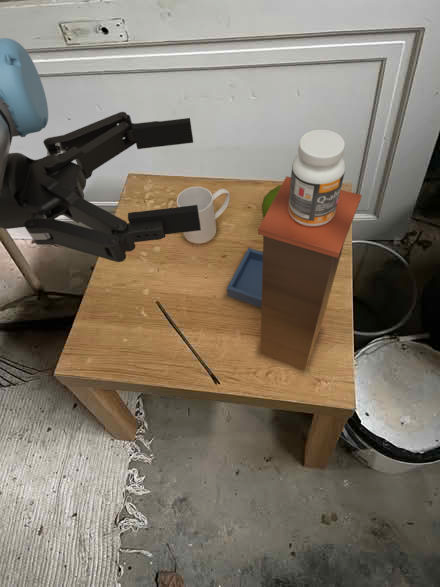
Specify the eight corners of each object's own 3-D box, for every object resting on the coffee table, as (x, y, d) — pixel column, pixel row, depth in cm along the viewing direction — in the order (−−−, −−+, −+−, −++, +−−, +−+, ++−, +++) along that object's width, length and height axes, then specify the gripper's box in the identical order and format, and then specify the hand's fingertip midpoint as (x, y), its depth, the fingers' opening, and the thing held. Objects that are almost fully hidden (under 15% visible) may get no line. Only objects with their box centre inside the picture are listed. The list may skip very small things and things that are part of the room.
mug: (191, 249, 96) (185, 217, 87) (178, 227, 100) (171, 194, 91) (238, 229, 98) (236, 196, 90) (223, 208, 102) (220, 174, 94)
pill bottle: (321, 235, 49) (335, 168, 41) (279, 217, 51) (284, 149, 43) (342, 205, 52) (359, 136, 43) (301, 189, 54) (310, 120, 45)
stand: (306, 374, 78) (339, 252, 48) (256, 354, 80) (257, 228, 50) (322, 330, 82) (361, 194, 52) (275, 313, 85) (286, 176, 55)
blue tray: (279, 314, 85) (279, 306, 83) (227, 296, 88) (226, 288, 86) (297, 271, 91) (299, 263, 88) (248, 256, 94) (248, 247, 91)
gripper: (29, 148, 54) (193, 128, 54) (-13, 313, 40) (207, 288, 40) (-1, 92, 47) (184, 70, 47) (-63, 266, 34) (198, 236, 34)
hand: (195, 170), depth 44 cm, fingers open, 13 cm apart
